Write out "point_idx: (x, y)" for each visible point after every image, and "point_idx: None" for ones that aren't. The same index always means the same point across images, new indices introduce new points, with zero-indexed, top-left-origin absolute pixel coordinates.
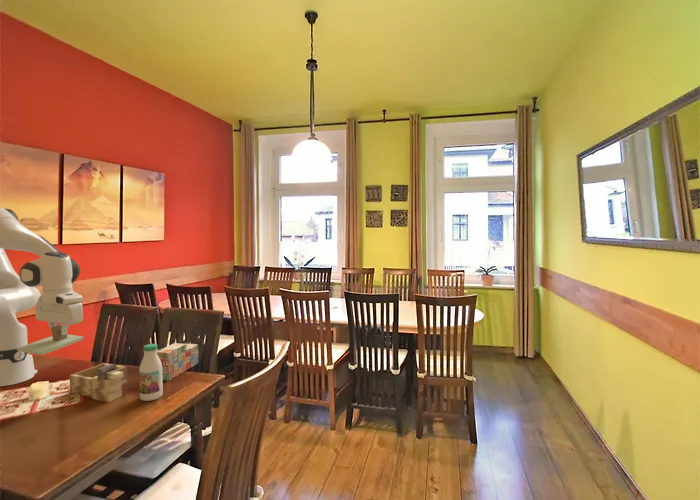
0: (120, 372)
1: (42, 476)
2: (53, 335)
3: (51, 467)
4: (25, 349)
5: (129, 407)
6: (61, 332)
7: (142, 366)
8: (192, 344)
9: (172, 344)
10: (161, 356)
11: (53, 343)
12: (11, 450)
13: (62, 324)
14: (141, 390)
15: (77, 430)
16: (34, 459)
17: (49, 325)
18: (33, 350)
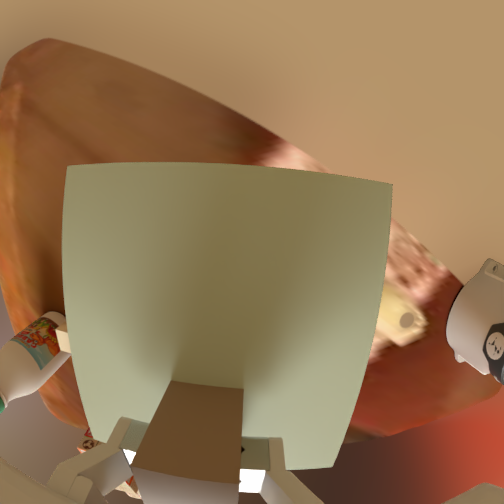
0: (62, 346)
1: (21, 70)
2: (222, 415)
3: (23, 84)
4: (281, 172)
5: (53, 279)
6: (119, 432)
7: (7, 351)
8: (138, 497)
9: (129, 488)
10: (97, 445)
11: (157, 334)
12: (111, 64)
13: (62, 483)
14: (44, 321)
15: (59, 164)
16: (54, 76)
17: (309, 500)
18: (171, 171)
